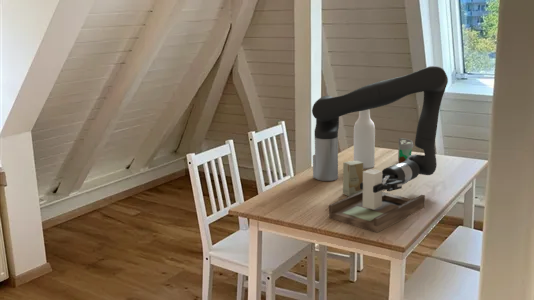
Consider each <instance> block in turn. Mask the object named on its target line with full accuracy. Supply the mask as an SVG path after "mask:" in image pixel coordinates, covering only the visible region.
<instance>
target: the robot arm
mask: <svg viewBox="0 0 534 300" xmlns="http://www.w3.org/2000/svg"><path fill="white" fill-rule="evenodd" d="M448 82H449V79H448V75H447V73H446V71H445V69H443V68H442V67H441V66H438V65H429V66H427V67H424V68H422V69H419V70H417V71H413V72H411V73H408V74H405V75H402V76H398V77H393V78H388V79H384V80H381V81H376V82H374V83H369V84H367V85H364V86H361V87H359V88H357V89H355V90H353V91H351V92H347V93H346V94H343V95H337V96H331V95H324V96H321V97H320V98H318V99H317V100H316V101H315V102H314V104H313V106H312V110H311V113H312V116H313V117H314V118H315V127H314V154H313V155H312V178H313V179H316V180H318V181H321V182H322V181H323V182H332V181H335V180H338V178H339V138H338V137H339V128H340V127H339V126H340V117H342V116H344V115H347V114H348V115H349V114H351V113H357V112H358V113H359V111H363V110H368V109H370V110H371V109H375V108H380V107H383V106H387V105H390V104H392V103H393V104H394V103H395V102H397V101H399V100H401V99H403V98H404V97H407V96H409V95H412V94H417V93H422V92H423V103H422V109H421V113H420V115H419V119H418V122H417V126H416V133H415V138H414V146H415V147H416V148H418V149H421V150H422V151H423V152H424V155H422V154H411V155H410V156H409V157H408V158H407V159H406V160H405V161H404V162H401V163H398V162H397V163H395V164H392V165H389V166H387V167H385V168H383V169H382V170H381V171H382V183H381V184H377V185H375V186H373V192H374V193H376V192H379V191H381V190H382V192H384V191H387V192H392V191H396V190H400V189H402V186H403V185H406V184H407V183H408V182H410V181H412V180H414V179H416V178H417V177H418V176H419V175H423V176H431V175H433V174H434V173H435V171H436V170H437V157H436V156H437V155H436V146H435V144H436V139H437V138H436V137H437V129H438V122H439V114H440V110H441V104H442V100H443V97H444V94H445V91H446V88H447V86H448ZM360 189H362V190H363V182H362V183H360Z"/></svg>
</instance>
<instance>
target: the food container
mask: <svg viewBox="0 0 534 300" xmlns="http://www.w3.org/2000/svg"><path fill="white" fill-rule="evenodd" d="M414 146H415V144H414V143H413V140H411V139H408V138H402V137H401V138H400V137H399V138H398V149H397V150H398V153H397V154H398V157H397V160H398V162H397V164H398V163H401V162H404V161H405V160H406V159H407V158H408V157H409V156H410V155H412V152H413V151H412V150H413V148H414Z"/></svg>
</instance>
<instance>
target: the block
mask: <svg viewBox="0 0 534 300" xmlns="http://www.w3.org/2000/svg"><path fill="white" fill-rule="evenodd" d="M381 183H382V170H379V169H375V168H370V169H365V170H363V207H367V208H371V209H376V208H378V207H380V206H382V192H383V191H382V190H381V191H379V192H376V193H374V192H373V186H375V185H377V184H381Z"/></svg>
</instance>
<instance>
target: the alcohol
mask: <svg viewBox="0 0 534 300" xmlns="http://www.w3.org/2000/svg"><path fill="white" fill-rule="evenodd" d="M375 136H376V126H375V123H374V121H373V120H372V119H371V109H368V110H363V111H358V118H357V119H356V121H355V123H354V125H353V161H355V160H357V161H360V162H362V163H363V170H369V169H373V168H374V166H375V159H376V158H375V154H376V151H375V149H376V148H375V146H376V145H375V144H376V142H375V141H376V140H375V139H376V137H375Z"/></svg>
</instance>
